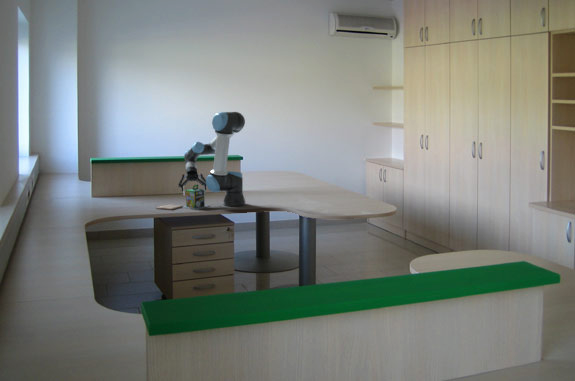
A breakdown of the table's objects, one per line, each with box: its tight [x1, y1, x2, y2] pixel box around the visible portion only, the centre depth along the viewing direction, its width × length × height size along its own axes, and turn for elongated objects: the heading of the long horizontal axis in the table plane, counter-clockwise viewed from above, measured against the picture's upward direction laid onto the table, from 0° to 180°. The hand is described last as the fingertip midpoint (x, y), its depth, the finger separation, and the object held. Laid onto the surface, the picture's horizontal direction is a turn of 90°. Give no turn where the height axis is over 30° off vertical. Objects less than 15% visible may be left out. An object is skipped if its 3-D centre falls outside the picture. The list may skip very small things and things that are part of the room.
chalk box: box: [185, 184, 206, 208], centre depth 431 cm, size 9×9×15 cm
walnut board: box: [155, 203, 184, 211], centre depth 429 cm, size 13×13×1 cm
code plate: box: [180, 204, 211, 210], centre depth 432 cm, size 14×14×1 cm
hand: (194, 194), depth 431 cm, fingers open, 13 cm apart
